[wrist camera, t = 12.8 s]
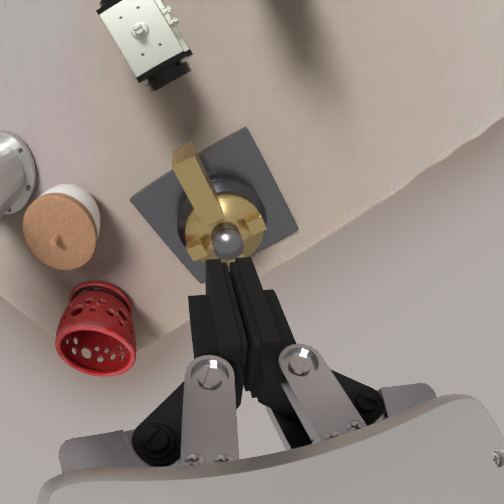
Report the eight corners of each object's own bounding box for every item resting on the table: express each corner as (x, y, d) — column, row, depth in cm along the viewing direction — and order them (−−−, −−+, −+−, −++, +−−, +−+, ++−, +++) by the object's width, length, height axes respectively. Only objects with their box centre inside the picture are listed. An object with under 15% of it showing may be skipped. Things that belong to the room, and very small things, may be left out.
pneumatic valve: (157, 89, 30) (145, 97, 21) (115, 18, 23) (86, -2, 13) (197, 67, 30) (204, 64, 20) (156, -5, 22) (145, -36, 13)
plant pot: (106, 334, 51) (100, 385, 42) (56, 294, 43) (40, 347, 34) (153, 306, 50) (153, 362, 40) (101, 259, 42) (86, 315, 32)
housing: (199, 279, 48) (202, 295, 45) (128, 194, 37) (124, 207, 34) (296, 226, 46) (305, 239, 43) (243, 123, 35) (250, 129, 32)
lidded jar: (122, 206, 38) (110, 243, 30) (81, 251, 40) (66, 292, 33) (68, 156, 32) (41, 183, 24) (31, 209, 34) (5, 244, 26)
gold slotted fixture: (269, 239, 41) (282, 265, 37) (204, 267, 42) (209, 296, 37) (223, 127, 31) (231, 139, 26) (144, 165, 31) (137, 184, 27)
